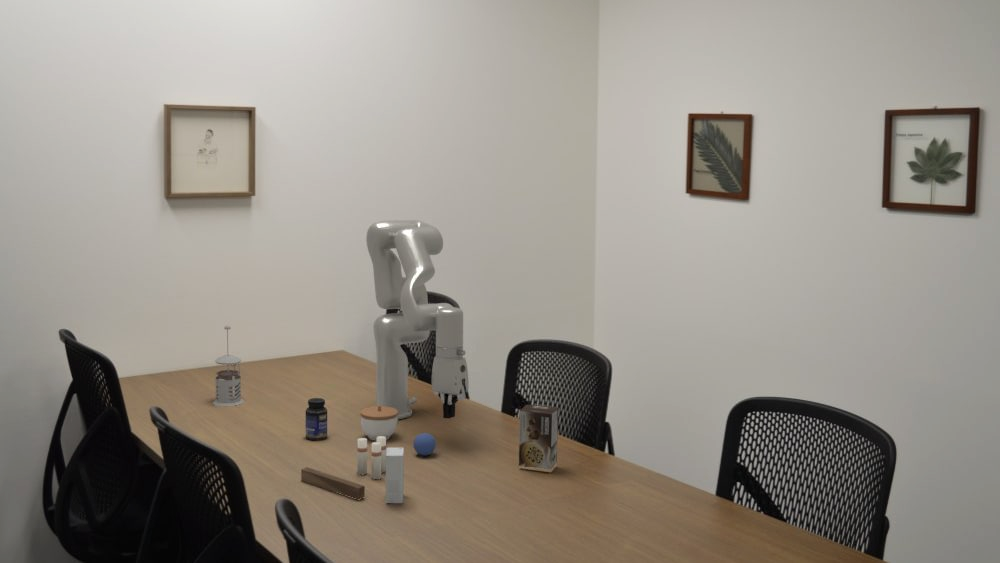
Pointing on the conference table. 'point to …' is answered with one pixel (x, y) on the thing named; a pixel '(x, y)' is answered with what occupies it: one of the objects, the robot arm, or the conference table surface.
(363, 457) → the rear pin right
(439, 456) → the conference table surface
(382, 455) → the front pin
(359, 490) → the bar
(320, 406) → the pill bottle
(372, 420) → the lidded jar
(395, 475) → the skincare box
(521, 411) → the coffee box
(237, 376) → the french press
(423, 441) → the ball
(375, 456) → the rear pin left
